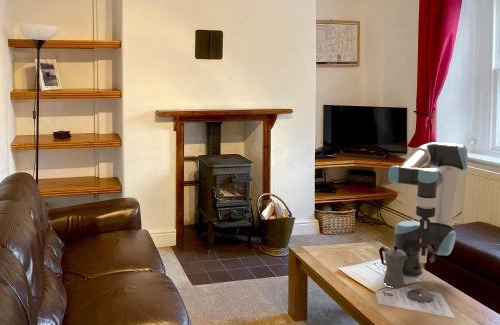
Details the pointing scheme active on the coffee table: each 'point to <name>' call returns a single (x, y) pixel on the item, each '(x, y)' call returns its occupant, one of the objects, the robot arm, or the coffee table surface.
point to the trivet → (420, 295)
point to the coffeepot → (393, 266)
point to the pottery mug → (429, 249)
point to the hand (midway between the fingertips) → (422, 258)
